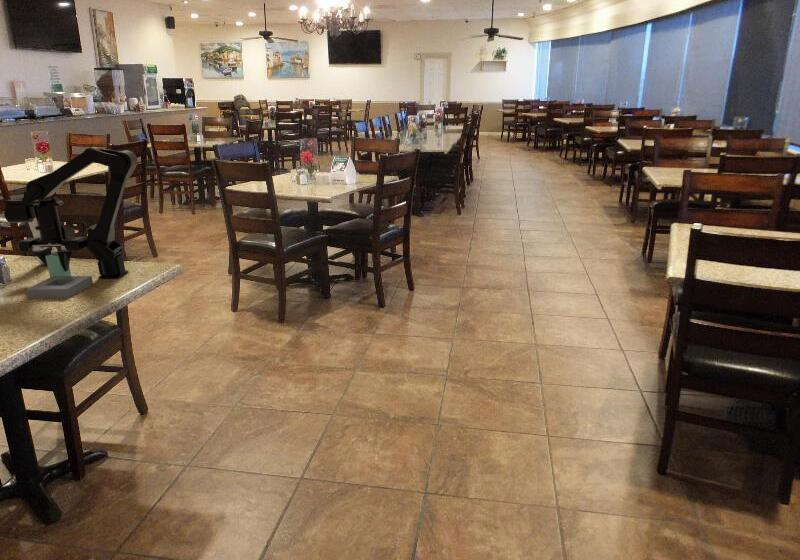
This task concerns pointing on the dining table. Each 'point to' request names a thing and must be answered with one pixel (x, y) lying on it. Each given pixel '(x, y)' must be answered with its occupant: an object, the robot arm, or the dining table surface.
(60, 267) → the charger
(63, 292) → the plate
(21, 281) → the dining table surface
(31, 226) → the plastic bottle
